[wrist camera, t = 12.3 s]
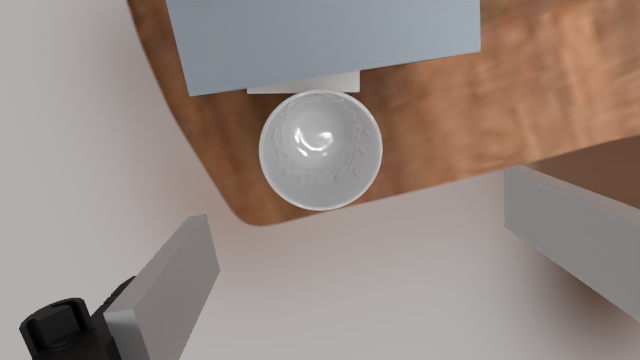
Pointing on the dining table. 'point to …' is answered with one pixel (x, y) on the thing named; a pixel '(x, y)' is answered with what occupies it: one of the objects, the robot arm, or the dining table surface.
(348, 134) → the white cup
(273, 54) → the bridge
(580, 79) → the dining table surface
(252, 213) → the dining table surface
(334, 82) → the white l-shaped block
